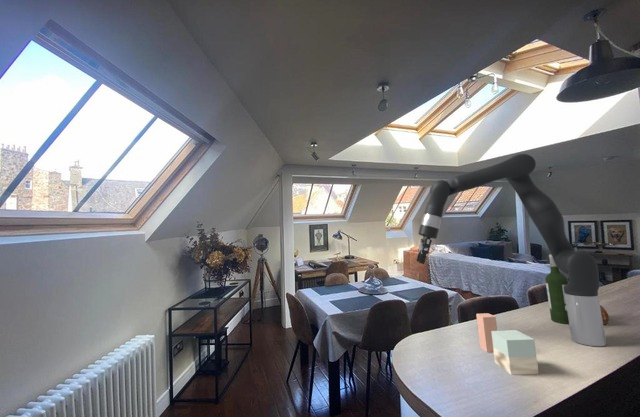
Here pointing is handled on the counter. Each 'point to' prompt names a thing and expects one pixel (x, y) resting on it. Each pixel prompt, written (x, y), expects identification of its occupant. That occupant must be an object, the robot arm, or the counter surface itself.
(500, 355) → the tower base block
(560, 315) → the wine bottle
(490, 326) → the peach block
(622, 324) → the counter surface
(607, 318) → the tin
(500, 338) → the tower top block
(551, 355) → the counter surface
